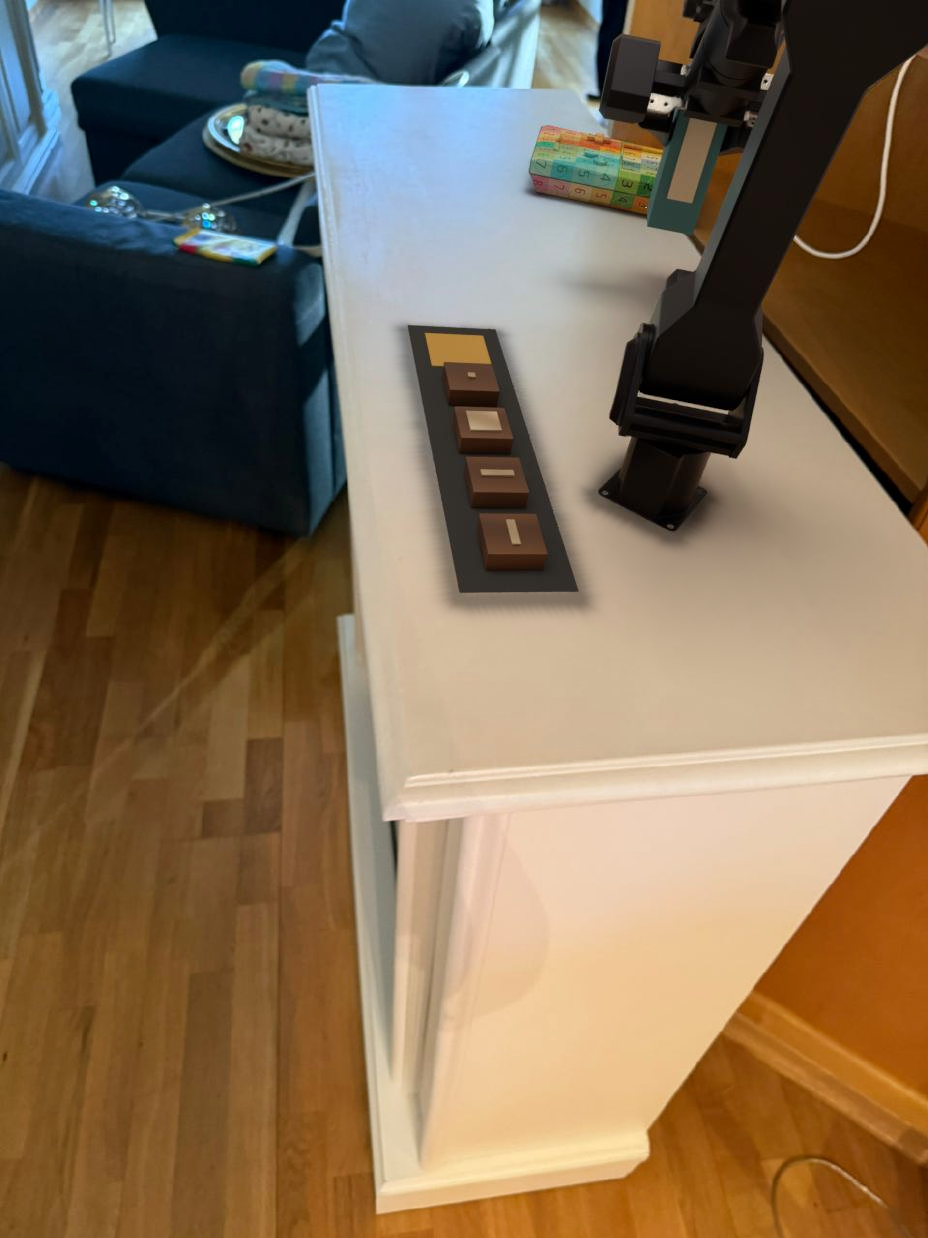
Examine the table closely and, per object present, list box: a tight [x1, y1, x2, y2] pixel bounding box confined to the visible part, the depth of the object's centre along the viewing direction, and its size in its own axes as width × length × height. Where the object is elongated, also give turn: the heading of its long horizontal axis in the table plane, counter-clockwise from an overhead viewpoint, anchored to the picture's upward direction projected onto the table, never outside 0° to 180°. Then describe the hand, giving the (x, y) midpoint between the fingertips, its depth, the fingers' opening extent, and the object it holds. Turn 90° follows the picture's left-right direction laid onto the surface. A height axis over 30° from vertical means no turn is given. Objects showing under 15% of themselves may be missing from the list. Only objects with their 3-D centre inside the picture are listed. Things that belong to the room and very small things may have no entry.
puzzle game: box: [528, 124, 663, 216], centre depth 106 cm, size 12×5×20 cm
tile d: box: [442, 362, 500, 407], centre depth 73 cm, size 4×4×2 cm
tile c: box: [452, 406, 513, 454], centre depth 69 cm, size 4×4×2 cm
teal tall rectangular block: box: [646, 61, 728, 236], centre depth 83 cm, size 5×4×13 cm
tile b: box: [463, 457, 529, 508], centre depth 64 cm, size 4×4×2 cm
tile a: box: [476, 513, 548, 570], centre depth 60 cm, size 4×4×2 cm
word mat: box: [407, 324, 579, 594], centre depth 69 cm, size 33×8×1 cm, turn 8°
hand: (690, 145), depth 84 cm, fingers closed on teal tall rectangular block, 4 cm apart
